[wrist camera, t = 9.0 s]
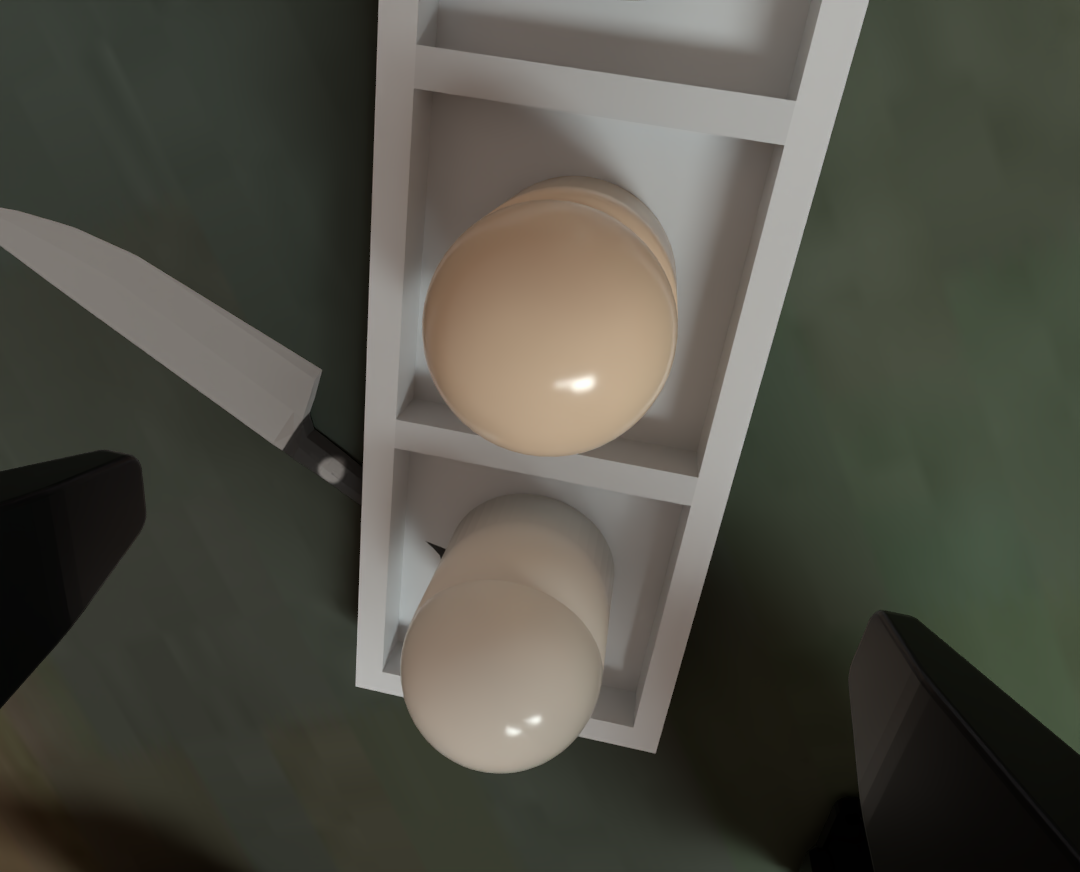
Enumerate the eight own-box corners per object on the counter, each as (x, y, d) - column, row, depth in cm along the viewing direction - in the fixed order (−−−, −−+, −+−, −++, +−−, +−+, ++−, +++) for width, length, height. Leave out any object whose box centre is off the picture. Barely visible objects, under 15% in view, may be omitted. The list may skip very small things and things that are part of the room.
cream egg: (629, 512, 20) (611, 681, 15) (599, 649, 22) (574, 842, 17) (456, 478, 21) (374, 629, 15) (442, 615, 23) (366, 793, 17)
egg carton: (969, -440, 12) (1018, -528, 11) (656, 703, 24) (655, 753, 22) (434, -487, 13) (397, -576, 11) (378, 642, 24) (355, 686, 23)
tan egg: (654, 392, 19) (646, 527, 13) (466, 358, 19) (379, 474, 13) (696, 193, 17) (710, 250, 11) (485, 160, 17) (392, 197, 11)
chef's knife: (-50, 78, 20) (-84, 175, 21) (-89, 74, 18) (-123, 177, 20) (535, 508, 22) (477, 575, 23) (530, 527, 21) (469, 596, 22)
